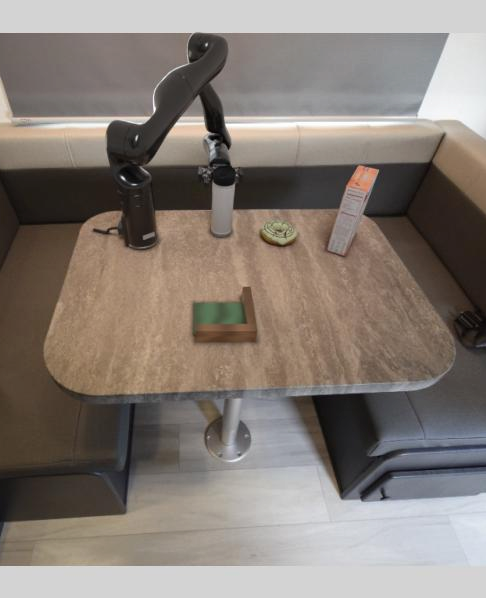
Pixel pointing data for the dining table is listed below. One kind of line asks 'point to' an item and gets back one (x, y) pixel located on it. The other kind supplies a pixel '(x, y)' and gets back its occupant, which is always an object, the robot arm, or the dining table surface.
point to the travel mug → (222, 200)
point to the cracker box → (351, 209)
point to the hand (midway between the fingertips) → (221, 185)
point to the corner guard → (226, 320)
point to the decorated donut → (278, 232)
